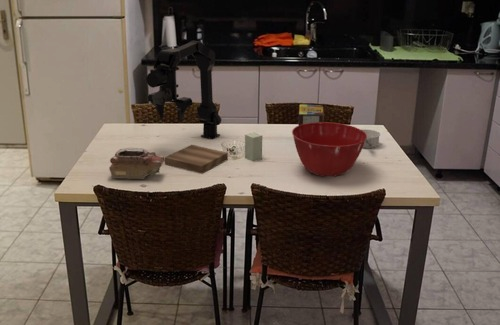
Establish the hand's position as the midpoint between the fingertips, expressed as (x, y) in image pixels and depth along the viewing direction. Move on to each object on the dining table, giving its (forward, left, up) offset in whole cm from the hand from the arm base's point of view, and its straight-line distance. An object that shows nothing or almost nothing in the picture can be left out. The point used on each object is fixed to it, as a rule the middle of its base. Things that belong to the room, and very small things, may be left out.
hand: (170, 120), depth 238 cm
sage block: (-14, +31, -15) cm, 37 cm away
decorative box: (+25, +4, -15) cm, 29 cm away
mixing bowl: (-18, +62, -15) cm, 66 cm away
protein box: (-44, +42, -15) cm, 63 cm away
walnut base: (+2, +14, -15) cm, 20 cm away
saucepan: (-51, +66, -15) cm, 85 cm away
